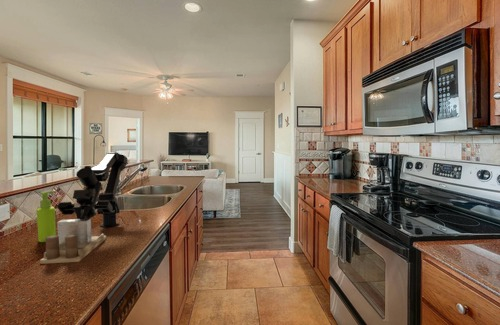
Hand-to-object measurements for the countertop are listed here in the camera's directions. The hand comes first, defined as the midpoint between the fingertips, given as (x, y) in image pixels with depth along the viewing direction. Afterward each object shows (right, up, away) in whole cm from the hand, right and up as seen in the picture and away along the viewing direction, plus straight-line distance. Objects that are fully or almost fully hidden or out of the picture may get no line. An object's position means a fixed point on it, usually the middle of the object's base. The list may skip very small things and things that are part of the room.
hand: (78, 226), depth 99 cm
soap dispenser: (-19, -8, +10) cm, 23 cm away
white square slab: (0, -7, -2) cm, 7 cm away
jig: (0, -8, -1) cm, 8 cm away
